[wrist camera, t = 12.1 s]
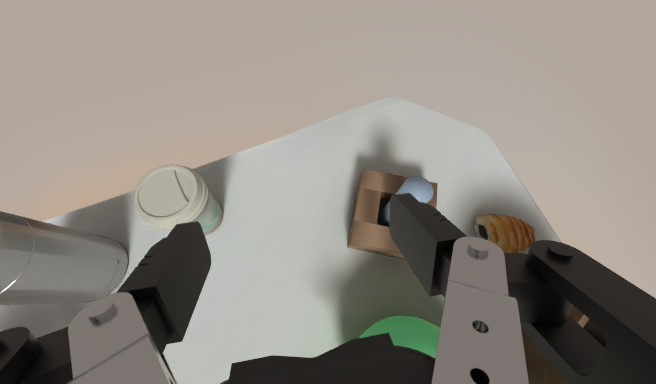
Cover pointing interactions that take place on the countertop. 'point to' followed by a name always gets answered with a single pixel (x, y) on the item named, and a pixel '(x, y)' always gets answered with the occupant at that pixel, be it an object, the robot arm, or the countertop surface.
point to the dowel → (413, 186)
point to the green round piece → (408, 333)
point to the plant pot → (539, 369)
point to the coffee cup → (176, 199)
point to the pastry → (505, 232)
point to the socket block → (376, 212)
